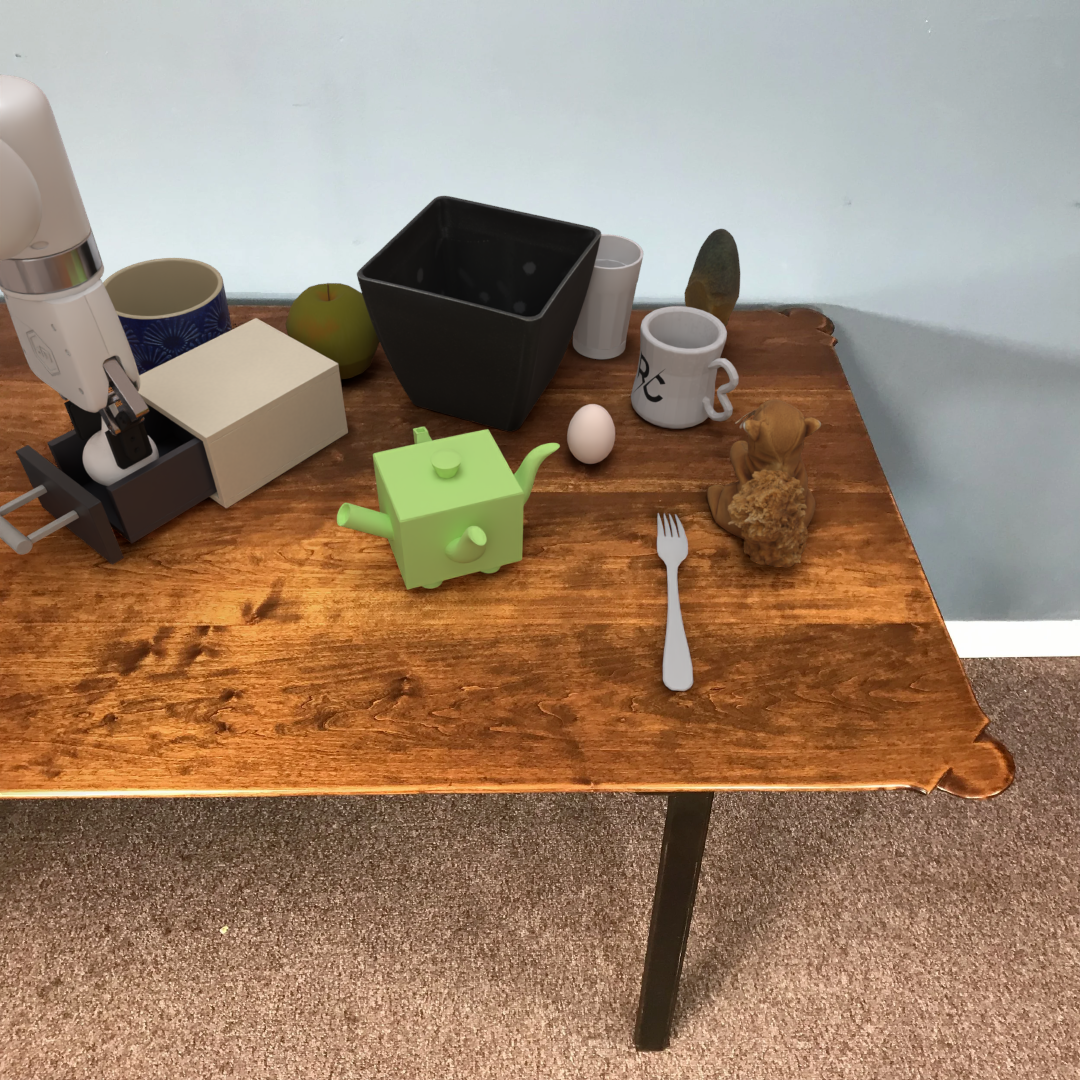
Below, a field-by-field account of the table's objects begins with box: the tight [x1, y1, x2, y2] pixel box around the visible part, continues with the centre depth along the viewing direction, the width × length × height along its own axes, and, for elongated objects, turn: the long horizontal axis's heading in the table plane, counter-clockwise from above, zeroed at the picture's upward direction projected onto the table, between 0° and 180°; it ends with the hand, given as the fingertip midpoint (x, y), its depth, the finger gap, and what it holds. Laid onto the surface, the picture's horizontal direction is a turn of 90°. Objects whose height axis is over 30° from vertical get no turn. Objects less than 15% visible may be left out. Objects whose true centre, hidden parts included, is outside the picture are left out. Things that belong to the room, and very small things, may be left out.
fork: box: [656, 512, 694, 692], centre depth 81 cm, size 3×21×3 cm, turn 177°
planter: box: [102, 257, 233, 375], centre depth 99 cm, size 12×12×11 cm
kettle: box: [336, 426, 561, 591], centre depth 81 cm, size 15×14×11 cm
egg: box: [566, 403, 616, 465], centre depth 92 cm, size 5×5×7 cm
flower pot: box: [356, 195, 602, 433], centre depth 97 cm, size 19×19×17 cm
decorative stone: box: [684, 228, 741, 327], centre depth 104 cm, size 10×6×15 cm, turn 169°
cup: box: [572, 233, 644, 360], centre depth 106 cm, size 8×8×12 cm
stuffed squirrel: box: [706, 399, 822, 568], centre depth 83 cm, size 10×14×13 cm
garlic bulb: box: [83, 402, 159, 486], centre depth 81 cm, size 6×6×8 cm
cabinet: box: [138, 317, 349, 509], centre depth 92 cm, size 16×13×9 cm
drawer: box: [0, 403, 217, 565], centre depth 83 cm, size 20×11×7 cm, turn 141°
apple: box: [284, 282, 380, 380], centre depth 101 cm, size 10×10×11 cm
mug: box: [630, 305, 740, 430], centre depth 97 cm, size 12×9×10 cm
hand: (115, 444), depth 82 cm, fingers closed on garlic bulb, 5 cm apart
